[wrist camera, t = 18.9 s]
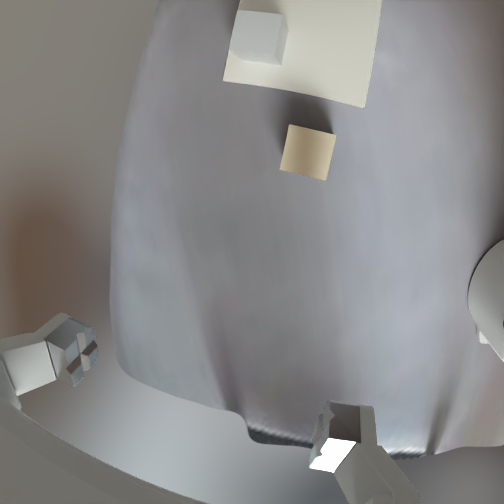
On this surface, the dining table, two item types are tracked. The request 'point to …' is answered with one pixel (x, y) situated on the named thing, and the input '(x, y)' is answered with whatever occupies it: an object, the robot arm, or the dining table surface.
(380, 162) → the dining table surface
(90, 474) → the robot arm
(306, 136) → the birch block
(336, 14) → the cream flat sheet
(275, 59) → the grey block
